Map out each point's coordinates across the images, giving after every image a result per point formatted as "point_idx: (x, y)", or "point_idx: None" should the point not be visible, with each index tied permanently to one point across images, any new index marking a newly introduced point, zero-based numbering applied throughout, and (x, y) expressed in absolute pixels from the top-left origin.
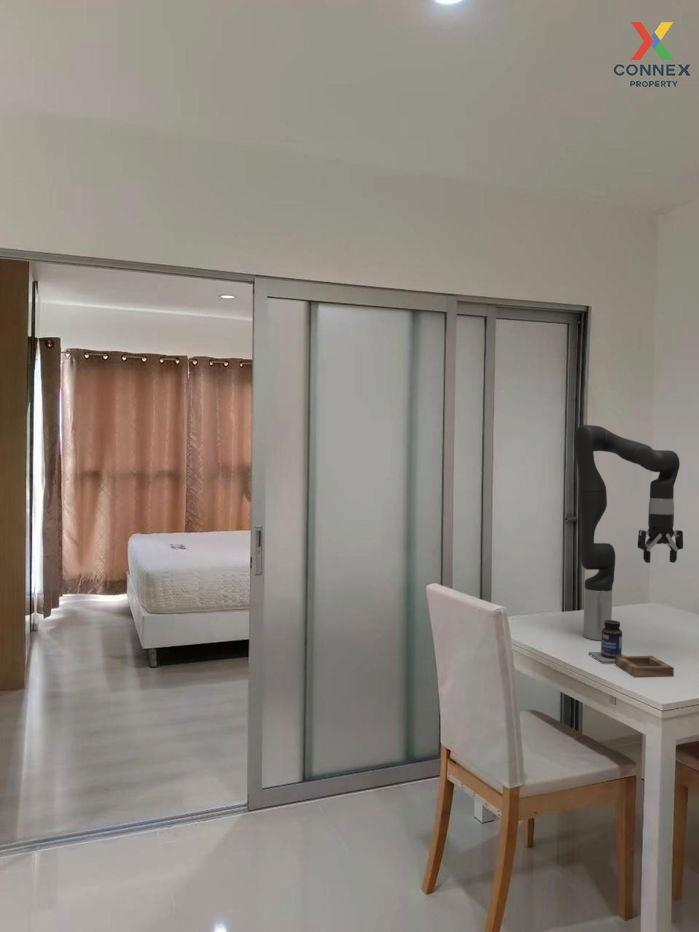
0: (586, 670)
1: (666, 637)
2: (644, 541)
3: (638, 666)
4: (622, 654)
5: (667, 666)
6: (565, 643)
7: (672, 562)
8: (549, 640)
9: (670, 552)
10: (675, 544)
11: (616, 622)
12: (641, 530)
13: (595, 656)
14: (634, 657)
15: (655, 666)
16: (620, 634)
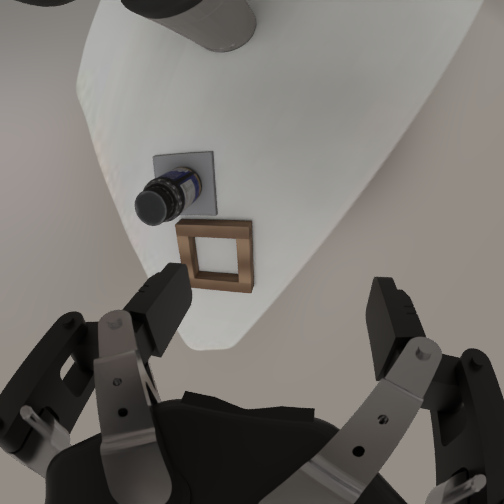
0: (132, 241)
1: (398, 42)
2: (77, 405)
3: (195, 278)
4: (211, 174)
5: (243, 286)
6: (139, 80)
7: (367, 305)
8: (119, 65)
9: (388, 332)
10: (466, 379)
11: (157, 215)
12: (8, 450)
13: None
14: (208, 233)
15: (223, 283)
16: (174, 218)
